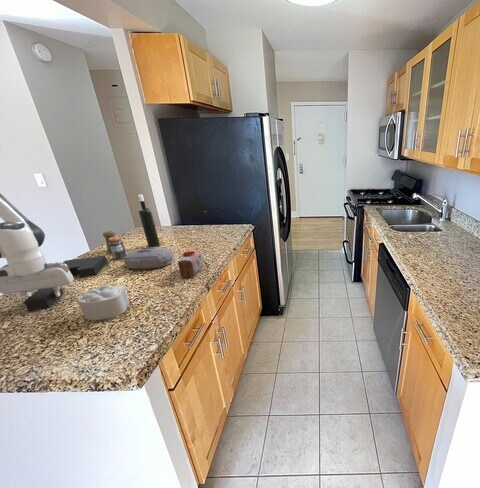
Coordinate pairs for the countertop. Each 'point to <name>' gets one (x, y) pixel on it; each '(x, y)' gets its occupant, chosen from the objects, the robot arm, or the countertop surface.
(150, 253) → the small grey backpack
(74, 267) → the base pad
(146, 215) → the wine bottle
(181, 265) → the food item
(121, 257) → the pill bottle
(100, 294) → the lumpy-topped squat cylinder
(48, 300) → the pad
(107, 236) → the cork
